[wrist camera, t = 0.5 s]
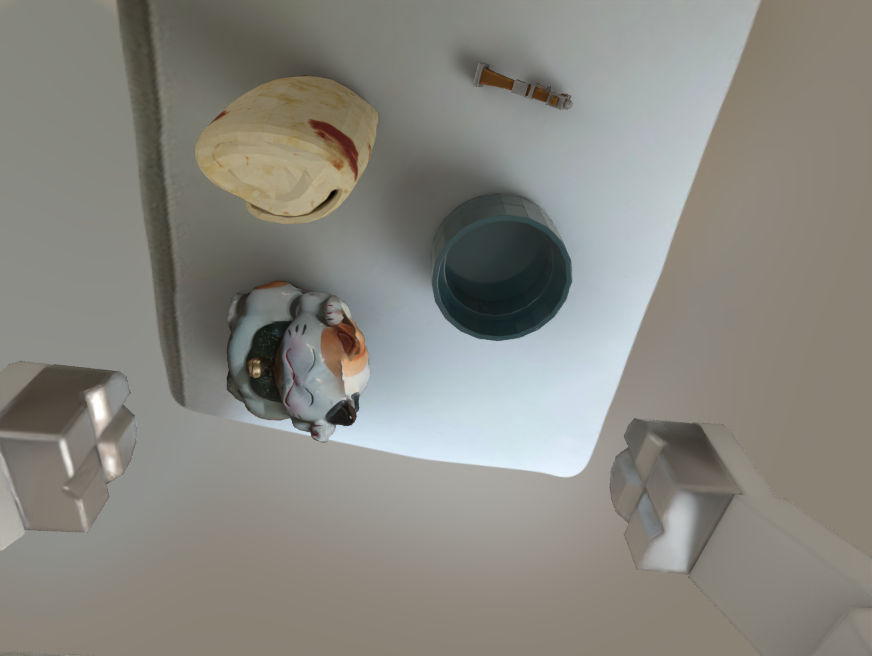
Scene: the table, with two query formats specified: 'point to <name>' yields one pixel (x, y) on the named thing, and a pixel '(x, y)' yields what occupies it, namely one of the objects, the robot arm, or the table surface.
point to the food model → (290, 147)
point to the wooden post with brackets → (521, 87)
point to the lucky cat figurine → (296, 357)
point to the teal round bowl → (499, 268)
